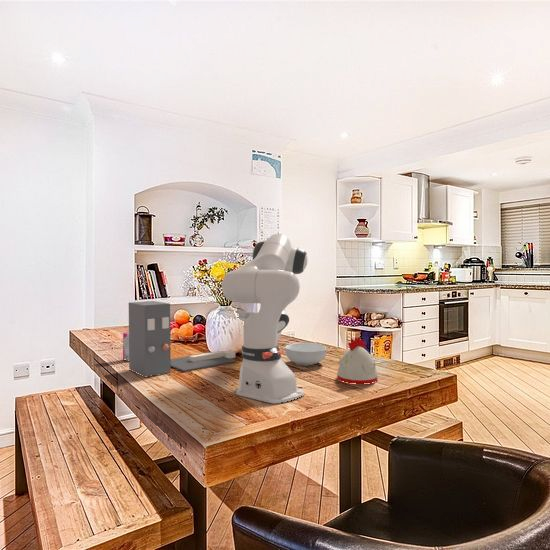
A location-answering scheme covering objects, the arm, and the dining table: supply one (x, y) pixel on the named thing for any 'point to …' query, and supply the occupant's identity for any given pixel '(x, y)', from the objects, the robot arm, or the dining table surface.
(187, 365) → the rubber mat
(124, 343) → the supplement box
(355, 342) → the beanie hat
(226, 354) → the paddle lever
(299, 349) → the cereal bowl
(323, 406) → the dining table surface
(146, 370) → the switch panel
